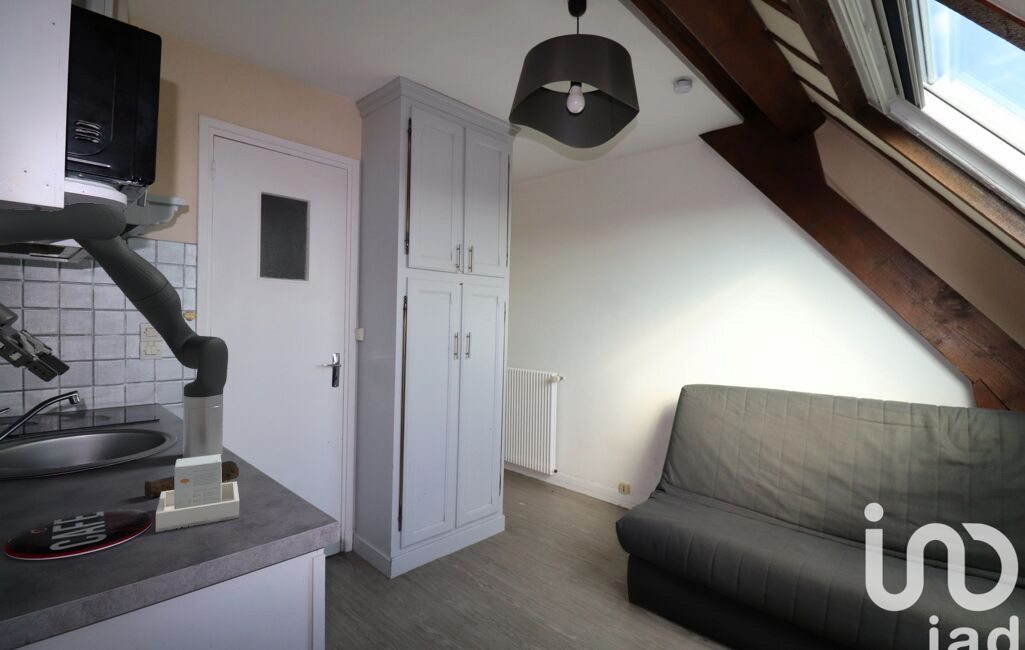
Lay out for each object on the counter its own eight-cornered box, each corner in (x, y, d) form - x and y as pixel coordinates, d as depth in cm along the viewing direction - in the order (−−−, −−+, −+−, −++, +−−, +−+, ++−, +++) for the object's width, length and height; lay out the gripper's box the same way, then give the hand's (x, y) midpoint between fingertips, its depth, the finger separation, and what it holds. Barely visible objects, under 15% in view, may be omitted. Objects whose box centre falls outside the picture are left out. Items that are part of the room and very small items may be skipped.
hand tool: (147, 502, 104) (148, 480, 104) (142, 497, 107) (143, 476, 107) (242, 480, 119) (243, 462, 119) (236, 476, 121) (236, 458, 121)
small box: (221, 502, 104) (221, 453, 103) (221, 512, 99) (222, 461, 99) (175, 509, 100) (176, 458, 99) (173, 520, 95) (174, 466, 94)
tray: (161, 508, 101) (161, 491, 101) (236, 496, 108) (236, 481, 108) (155, 532, 91) (155, 513, 91) (239, 517, 98) (239, 500, 98)
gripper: (-24, 297, 80) (69, 365, 86) (7, 297, 92) (86, 356, 98) (-72, 329, 77) (28, 397, 84) (-34, 325, 89) (51, 384, 96)
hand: (59, 375), depth 91 cm, fingers open, 8 cm apart
